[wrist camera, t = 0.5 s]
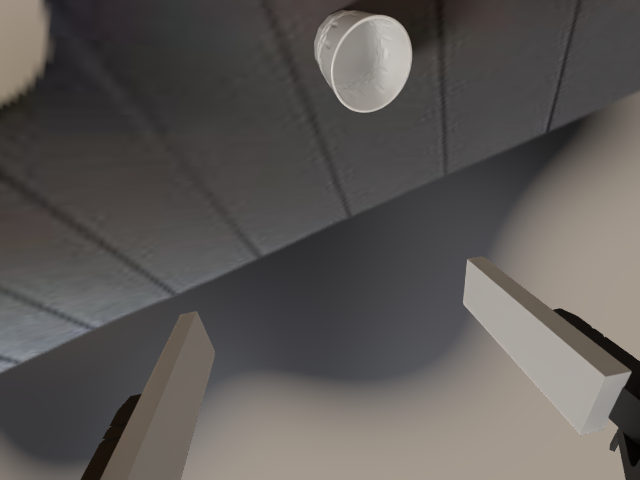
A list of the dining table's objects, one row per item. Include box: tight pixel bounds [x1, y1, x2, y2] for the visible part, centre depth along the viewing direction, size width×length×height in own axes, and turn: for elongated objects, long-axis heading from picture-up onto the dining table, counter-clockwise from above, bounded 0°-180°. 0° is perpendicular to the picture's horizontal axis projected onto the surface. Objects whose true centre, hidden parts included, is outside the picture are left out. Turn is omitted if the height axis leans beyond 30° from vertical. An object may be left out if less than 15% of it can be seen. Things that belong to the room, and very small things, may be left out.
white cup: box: [314, 10, 412, 112], centre depth 30 cm, size 8×8×10 cm
